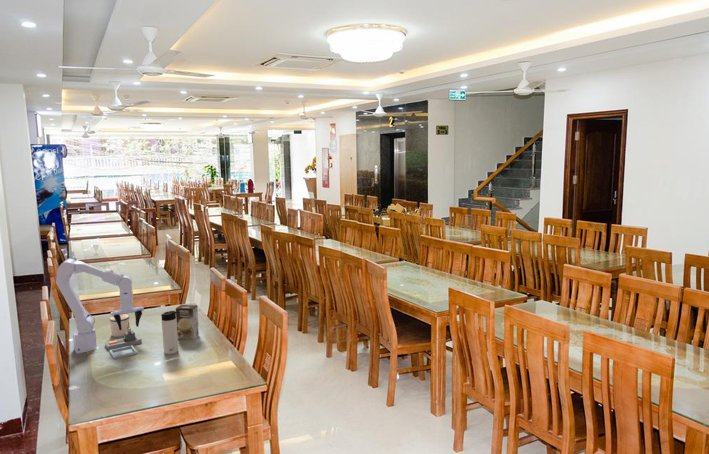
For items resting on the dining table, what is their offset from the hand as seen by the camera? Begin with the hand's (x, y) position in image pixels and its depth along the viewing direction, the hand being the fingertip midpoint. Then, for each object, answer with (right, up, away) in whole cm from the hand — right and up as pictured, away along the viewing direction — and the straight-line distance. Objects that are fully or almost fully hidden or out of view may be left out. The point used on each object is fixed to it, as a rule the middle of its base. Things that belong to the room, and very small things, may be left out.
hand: (128, 327), depth 244 cm
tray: (+3, -10, -11) cm, 15 cm away
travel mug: (+25, -10, -11) cm, 29 cm away
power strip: (-2, -9, -1) cm, 9 cm away
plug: (0, -8, +1) cm, 8 cm away
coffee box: (+26, -7, +9) cm, 28 cm away
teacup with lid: (-12, -6, +17) cm, 21 cm away
